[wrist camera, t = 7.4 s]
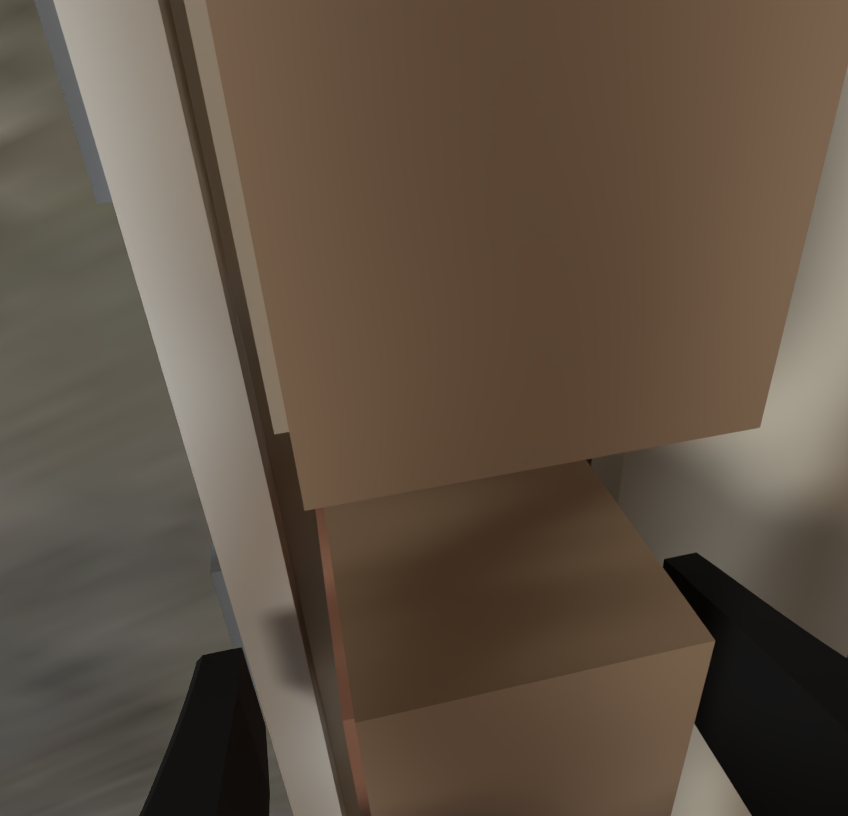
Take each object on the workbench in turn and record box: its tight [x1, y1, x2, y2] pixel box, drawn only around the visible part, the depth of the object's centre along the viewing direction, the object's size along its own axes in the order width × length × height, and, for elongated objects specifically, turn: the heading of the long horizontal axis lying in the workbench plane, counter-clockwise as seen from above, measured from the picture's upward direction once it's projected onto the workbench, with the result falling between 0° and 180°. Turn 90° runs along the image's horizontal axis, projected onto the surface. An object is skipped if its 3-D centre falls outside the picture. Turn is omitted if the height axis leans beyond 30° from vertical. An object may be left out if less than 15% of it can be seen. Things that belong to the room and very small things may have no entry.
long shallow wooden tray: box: [34, 0, 848, 816], centre depth 15 cm, size 15×28×2 cm, turn 4°
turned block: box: [315, 460, 715, 816], centre depth 11 cm, size 4×6×6 cm
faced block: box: [184, 0, 848, 511], centre depth 6 cm, size 4×6×6 cm
